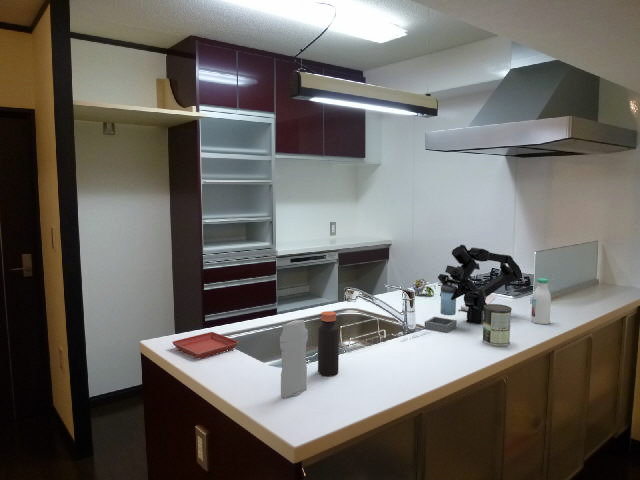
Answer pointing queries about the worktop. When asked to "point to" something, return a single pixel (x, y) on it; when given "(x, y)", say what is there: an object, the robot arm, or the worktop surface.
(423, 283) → the passion flower
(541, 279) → the milk bottle
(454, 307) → the blue-grey upright cylinder
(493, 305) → the coffee can
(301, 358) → the tall pale column
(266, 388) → the worktop surface
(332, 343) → the vinegar
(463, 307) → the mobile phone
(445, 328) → the cartridge housing
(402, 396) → the worktop surface
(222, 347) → the plant saucer
